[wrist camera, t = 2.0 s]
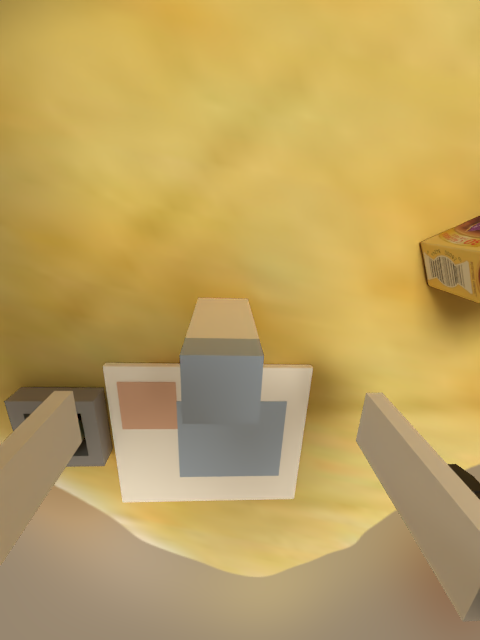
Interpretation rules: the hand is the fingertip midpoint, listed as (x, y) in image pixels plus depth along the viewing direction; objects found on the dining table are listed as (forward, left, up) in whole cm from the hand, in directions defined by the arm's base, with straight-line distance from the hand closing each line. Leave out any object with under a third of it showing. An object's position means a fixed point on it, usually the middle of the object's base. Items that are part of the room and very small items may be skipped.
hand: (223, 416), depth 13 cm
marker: (0, 0, -11) cm, 11 cm away
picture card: (+12, -1, -11) cm, 16 cm away
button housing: (+10, -14, -11) cm, 21 cm away
